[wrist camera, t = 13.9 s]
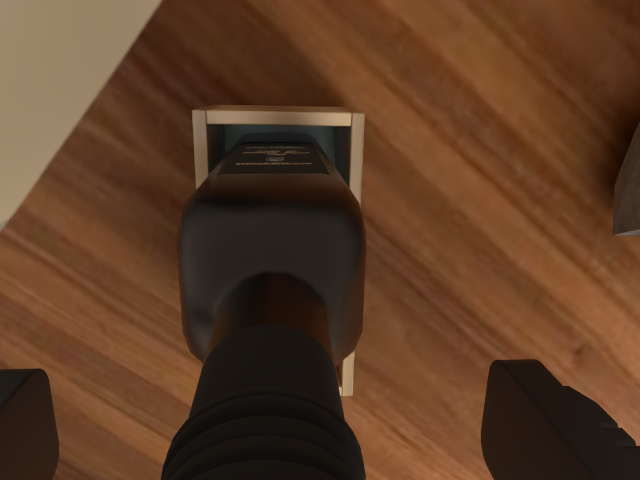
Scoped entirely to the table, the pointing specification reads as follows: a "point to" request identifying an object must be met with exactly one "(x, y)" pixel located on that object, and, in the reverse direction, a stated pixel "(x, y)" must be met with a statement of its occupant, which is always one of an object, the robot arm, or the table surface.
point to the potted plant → (628, 191)
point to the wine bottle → (270, 315)
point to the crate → (321, 122)
